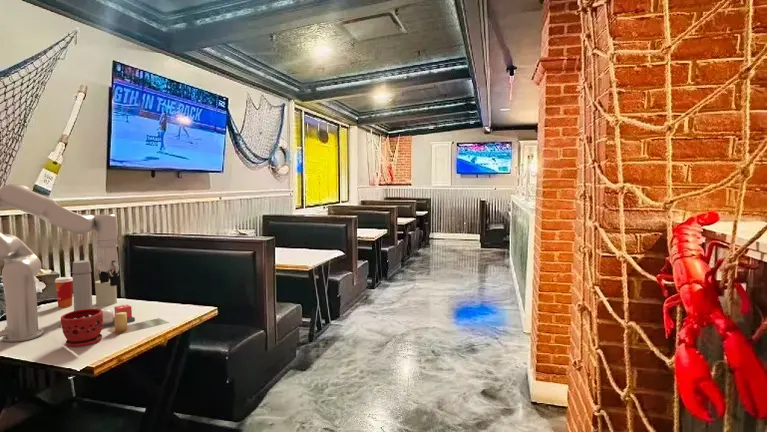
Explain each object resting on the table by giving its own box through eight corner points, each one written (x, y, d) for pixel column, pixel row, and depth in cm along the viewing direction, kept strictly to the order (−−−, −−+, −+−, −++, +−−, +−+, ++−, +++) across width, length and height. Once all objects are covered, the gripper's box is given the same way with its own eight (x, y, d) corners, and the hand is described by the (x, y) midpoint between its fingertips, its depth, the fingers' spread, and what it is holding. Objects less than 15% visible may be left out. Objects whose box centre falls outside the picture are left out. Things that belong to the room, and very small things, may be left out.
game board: (116, 336, 175) (116, 335, 175) (107, 331, 181) (106, 329, 181) (169, 323, 192) (169, 322, 191) (159, 319, 198) (159, 318, 198)
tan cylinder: (117, 332, 178) (116, 315, 177) (113, 330, 181) (112, 313, 180) (129, 330, 181) (128, 313, 181) (124, 327, 184) (124, 311, 184)
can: (121, 301, 227) (120, 278, 227) (105, 306, 218) (104, 282, 218) (107, 300, 230) (106, 277, 229) (91, 304, 221) (90, 281, 220)
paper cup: (59, 304, 221) (58, 277, 220) (77, 303, 224) (75, 276, 223) (52, 308, 214) (51, 280, 213) (71, 307, 216) (70, 279, 215)
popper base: (99, 330, 183) (98, 313, 182) (92, 326, 188) (91, 310, 187) (134, 322, 194) (134, 306, 193) (127, 318, 198) (127, 303, 198)
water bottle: (92, 315, 203) (90, 262, 201) (71, 317, 199) (69, 263, 198) (95, 310, 211) (93, 259, 209) (75, 312, 208) (73, 260, 206)
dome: (101, 328, 184) (100, 312, 184) (96, 325, 188) (95, 309, 187) (116, 324, 189) (115, 309, 188) (110, 322, 192) (110, 307, 192)
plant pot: (71, 339, 172) (70, 309, 171) (109, 336, 175) (108, 307, 174) (55, 351, 159) (53, 319, 159) (95, 348, 162) (94, 316, 162)
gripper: (88, 243, 186) (91, 283, 187) (106, 246, 176) (108, 288, 177) (108, 241, 192) (110, 279, 193) (126, 244, 182) (128, 285, 183)
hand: (109, 284), depth 185 cm, fingers open, 9 cm apart
